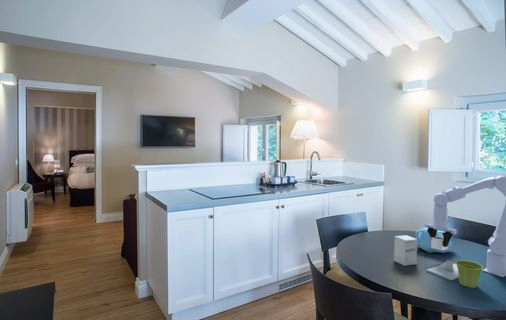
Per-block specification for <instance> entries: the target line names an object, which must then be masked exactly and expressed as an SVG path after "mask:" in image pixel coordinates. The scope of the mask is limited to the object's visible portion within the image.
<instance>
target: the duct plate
mask: <svg viewBox="0 0 506 320" xmlns="http://www.w3.org/2000/svg"><path fill="white" fill-rule="evenodd" d="M426 272H428V273H430V274H434V275H435V276H439V277H441V278H444V279H446V280H449V281H454V280H457V279H459V274H458V267H457V264H456V263H454V262H453V261H451V260H445V261H444V263H441V264H440V265H436V266H434V267H430V268H428V269H426Z"/></svg>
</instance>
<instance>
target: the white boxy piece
mask: <svg viewBox="0 0 506 320" xmlns="http://www.w3.org/2000/svg"><path fill="white" fill-rule="evenodd" d="M431 248H435V249H438V250H441V251H443V250H446V249H448V247H444V238H443V237H440V236H434V237H431Z"/></svg>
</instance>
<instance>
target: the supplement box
mask: <svg viewBox="0 0 506 320" xmlns="http://www.w3.org/2000/svg"><path fill="white" fill-rule="evenodd" d="M393 246H394V249H393V261H394V262H395V263H398V264H400V265H402V266H404V267H405V266H411V265H417V260H418V259H417V256H418V245H417V239H416V237H413V236H409V235H407V234H406V235H405V234H404V235H395V236H394V245H393Z"/></svg>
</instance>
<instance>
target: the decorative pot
mask: <svg viewBox="0 0 506 320" xmlns="http://www.w3.org/2000/svg"><path fill="white" fill-rule="evenodd" d="M427 229H428V227H427V228H426V227H425V226H424V227H422V228H421V229H417V230H416V231H415V235H414V236H415V239H417V246H419V248H420V249H422V250H424V251H425V252H427V253H428V254H429V253H430V254H433V253H441V254H446V253H447V252H448V253H449V252H450V251H451V249H452V246H454V242H453V241H452V239H453V237H454V235H453V236H452V237H451V239H450V241H449V244H448V249H446V250H443V251H441V250H438V249H435V248H431V238H430V235H429V233H428V231H427ZM443 233H445V232H444V231H440V230H437V233H436V236H440V237H443ZM443 238H444V237H443Z"/></svg>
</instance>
